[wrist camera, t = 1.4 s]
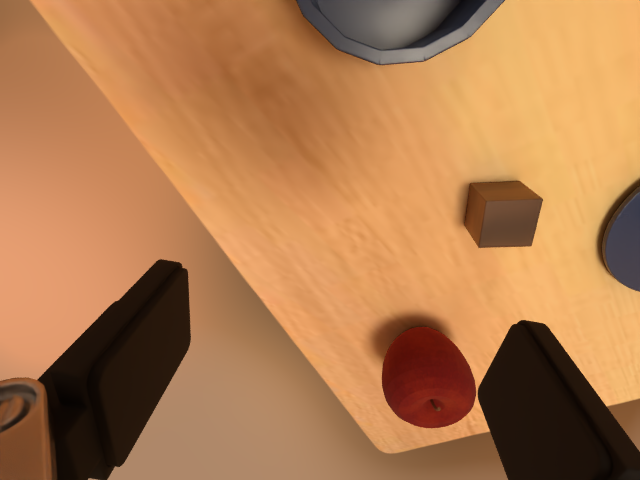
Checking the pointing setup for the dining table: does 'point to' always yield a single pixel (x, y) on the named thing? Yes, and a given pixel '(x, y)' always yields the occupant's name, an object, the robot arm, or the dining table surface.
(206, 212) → the dining table surface
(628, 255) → the lid
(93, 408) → the robot arm
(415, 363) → the apple
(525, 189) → the block
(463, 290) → the dining table surface
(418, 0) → the tin
